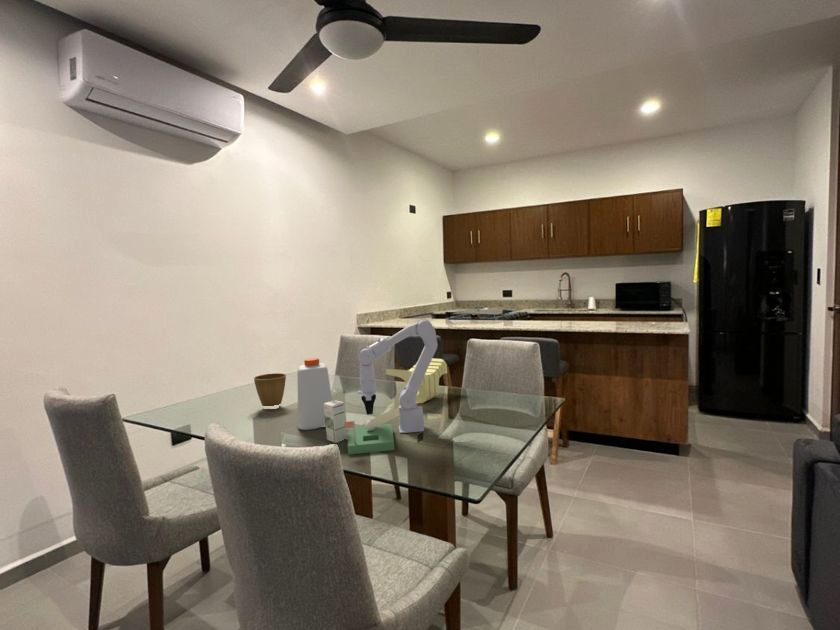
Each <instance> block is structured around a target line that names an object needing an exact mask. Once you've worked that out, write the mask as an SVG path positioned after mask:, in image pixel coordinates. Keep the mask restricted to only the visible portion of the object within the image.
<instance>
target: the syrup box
mask: <svg viewBox="0 0 840 630" xmlns="http://www.w3.org/2000/svg"><path fill="white" fill-rule="evenodd" d="M345 412H346V411H345V402H344V401H339V400H332V401H329V402H327V403H324V415H325V427H326V428H325V438H326V441H327V442H330V443H333V444H337V443H341V442H343V441H345V440H344V439H346V438H347V439H348V437H347V435H348V434H347V428H345V426H344V422H346V413H345ZM347 439H346V440H347ZM342 440H343V441H342ZM340 441H341V442H340Z"/></svg>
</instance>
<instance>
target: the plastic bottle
mask: <svg viewBox="0 0 840 630" xmlns="http://www.w3.org/2000/svg"><path fill="white" fill-rule="evenodd" d="M303 362H304V364H302V365H299V366H298V367H297V427H298V429H299V430H301V431H312V430H317V428H319V427H321V426H324V425H325V415H324V403H327V402H329V401H333V398H332V391H331V384H330V378H329V369H328V366H327V364H325V363H323V362H322V363H320V359H319V358H317V357H312V358H307V359H304V361H303ZM319 429H320V428H319Z"/></svg>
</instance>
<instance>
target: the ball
mask: <svg viewBox="0 0 840 630" xmlns="http://www.w3.org/2000/svg"><path fill="white" fill-rule="evenodd" d="M376 425H377V424H376V422H375V421H374V420H372V419H368V420H366V422H365V424H364V426H365V428H366V429H367V430H368V431H372V430H374V429H375V427H376Z"/></svg>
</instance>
